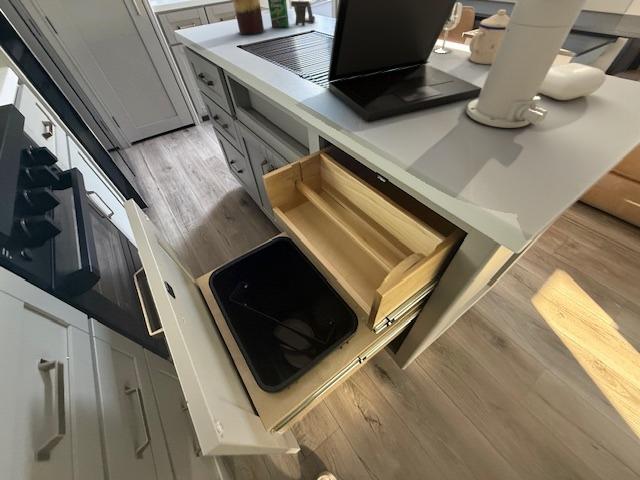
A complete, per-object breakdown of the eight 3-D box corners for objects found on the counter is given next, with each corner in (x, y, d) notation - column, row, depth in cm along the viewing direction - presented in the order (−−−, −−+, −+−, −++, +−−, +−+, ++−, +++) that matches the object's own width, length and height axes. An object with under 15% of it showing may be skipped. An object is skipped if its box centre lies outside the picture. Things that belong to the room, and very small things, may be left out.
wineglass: (452, 53, 87) (465, 5, 78) (433, 53, 88) (445, 5, 79) (450, 49, 90) (462, 1, 81) (432, 48, 91) (443, 2, 82)
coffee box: (271, 27, 124) (265, -11, 114) (273, 26, 126) (268, -12, 116) (286, 28, 122) (282, -12, 112) (289, 26, 124) (285, -12, 114)
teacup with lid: (485, 54, 85) (502, 6, 76) (508, 61, 79) (529, 10, 71) (454, 59, 82) (468, 10, 74) (475, 68, 77) (493, 15, 68)
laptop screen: (473, -34, 56) (471, -36, 56) (344, -22, 49) (342, -25, 49) (426, 63, 75) (424, 61, 76) (328, 82, 69) (327, 79, 69)
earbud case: (521, 91, 64) (533, 66, 60) (559, 82, 67) (573, 57, 63) (561, 107, 58) (578, 79, 54) (601, 96, 61) (620, 69, 57)
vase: (259, 34, 115) (248, -33, 100) (236, 35, 116) (221, -32, 101) (267, 29, 122) (257, -35, 107) (244, 29, 123) (232, -34, 108)
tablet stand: (315, 22, 129) (314, -2, 122) (308, 25, 124) (307, 1, 118) (298, 21, 131) (297, -2, 125) (291, 24, 126) (289, 1, 120)
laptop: (479, 96, 64) (482, 87, 62) (367, 121, 57) (368, 112, 55) (424, 71, 77) (426, 63, 75) (328, 89, 70) (328, 81, 69)
